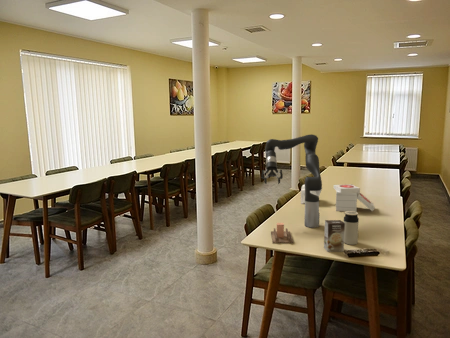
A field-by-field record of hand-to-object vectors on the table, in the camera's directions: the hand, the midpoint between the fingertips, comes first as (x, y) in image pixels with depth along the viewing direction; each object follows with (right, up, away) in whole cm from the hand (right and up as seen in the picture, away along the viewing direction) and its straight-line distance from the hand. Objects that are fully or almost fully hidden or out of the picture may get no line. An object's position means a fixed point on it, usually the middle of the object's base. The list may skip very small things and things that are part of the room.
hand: (272, 183), depth 233 cm
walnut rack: (+3, -32, -22) cm, 39 cm away
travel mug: (+41, -33, -32) cm, 62 cm away
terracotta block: (+2, -31, -22) cm, 39 cm away
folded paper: (+42, -19, +64) cm, 79 cm away
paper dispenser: (+68, -22, +37) cm, 81 cm away
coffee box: (+28, -35, -42) cm, 62 cm away
